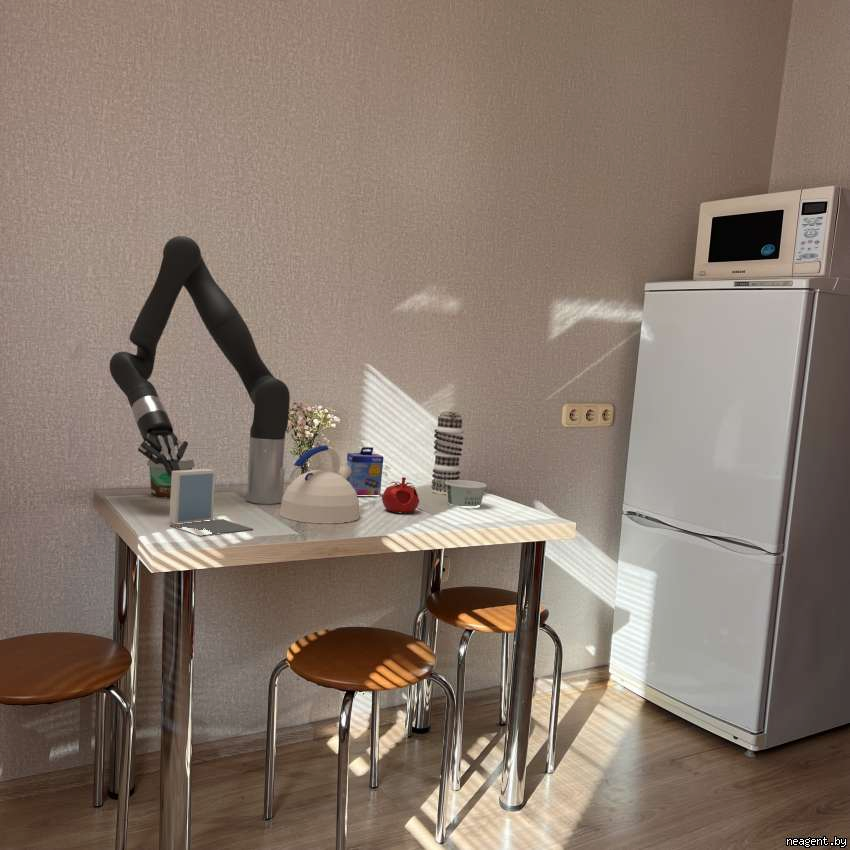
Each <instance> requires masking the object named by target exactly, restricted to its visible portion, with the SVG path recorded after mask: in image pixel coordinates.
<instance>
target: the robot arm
mask: <svg viewBox="0 0 850 850" xmlns="http://www.w3.org/2000/svg"><path fill="white" fill-rule="evenodd" d="M163 247H164V248H163V251H162V260H161V264H160V268H159V271H158V274H157V277H156V280H155V282H154V285H153V287H152V289H151V291H150V293H149V295H148V296H147V298H146V300H145V302H144V304H143V306H142V308H141V310H140V311H139V314H138V316H137V318H136V320H135V323H134V325H133V327H132V329H131V332H130V334H129V341H130V343H132V344H133V345H134V346H136V349H137V350H136V354H134V353H131V352H128V351H118V352H115V353H114V354H113V355H112V357H111V359H110V361H109V365H108V366H109V372H110V375H111V377H112V379H113V381H114V382H115V384H116V385H117V386H118V387H119V389H120V390H121V391H122V393H123V394H124V395H125V396H126V398H127V401H128V403H129V406H130V409H131V411H132V414H133V418H134V421H135V423H136V425H137V428H138V431H139V433H140V436H141V438H142V440H143V441H142V442H141V444H140V445H139V447H138V448H137V451H138V452H139V453H141V454H142V455H144V456H145V457H146V458H147V459H148V460H149V459H150V460H151V461H153V462H154V463H155V464H159V463H160V464H162V465H163V466H164V467H165V469H166V472H167V474H168V475H169V476H170V477H172V471H180V468H179V465H178V463H179V461H182V459H183V457H184V454H185V452H186V450H187V447H188V445H189V442H188V441H187V440H184V441H183V442H182V441H181V440H179V438H178V436H177V435H176V434H175V433H174V427H173V425H172V423H171V420H170V418H169V416H168V414H167V410H166V408H165V406H164V404H163V402H162V401H161V399H160V397H159V395H158V392H157V390H156V387H155V386H154V385H153V383H152V382H151V381H149V379H150V377H151V376H152V374H153V372H154V366H155V360H156V353H157V347H158V344H159V342H160V339H161V337H162V335H163V333H164V330H165V328H166V326H167V324H168V321H169V319H170V316H171V313H172V311H173V309H174V306H175V303H176V301H177V299H178V297H179V295H180V292H181V290H182V288H183V287H184V288H185V290H186V291H187V292H188V294H189V296H190V297H191V299H192V302H193V304H194V307H195V309H196V310H197V313H198V314H199V317H200V319H201V321H202V323H203V325H204V326H205V328H206V330H207V331H208V333H209V334H210V336H211V338H212V340H213V341H214V343H216V345H217V346H218V348H219V349H220V352H222V354H223V355H224V356H225V358H226V360H228V362H229V363H230V364H231V367H232V368H234V370H235V371H236V372H237V374H238V377H239V378H240V379H241V382H242V384H243V386H244V388H245V390H246V392H247V394H248V396H249V398H250V400H251V402H252V404H253V407H254V409H253V410H254V411H253V418H252V424H251V426H250V430H249V431H250V432H249V448H248V464H247V466H248V467H247V481H246V483H247V484H246V501H247V502H249V503H251V504H252V503H253V504H259V505H260V504H263V505H266V504H267V505H273V504H281V503H282V497H283V495H284V483H285V482H284V481H285V467H284V463H285V461H284V458H285V444H286V443H285V441H286V440H285V439H286V433H287V429H288V425H289V412H290V404H291V403H290V402H291V400H290V399H291V395H290V391H289V390H290V389H289V387H288V386H287V384H286V383H285V382H284V381H282V380H281V379H279V378H276V377H275V376H274V375H273V374H272V372H271V371H270V370H269V368H268V367H267V366H266V364H265V362H264V361H263V360H262V358H261V356H260V354H259V352H258V349H257V346H256V344H255V341H254V338H253V336H252V334H251V333H252V332H251V330H250V329H249V327H248V325H247V323H246V322H245V320H244V318H243V317H242V315H241V314H240V312H239V310H238V309H237V308H236V306H235V305H234V303H233V302H232V301H231V299H230V298H229V297H228V295H227V294H226V293H225V292H224V290H222V288H221V287H220V286H219V285H218V284H217V282H216V281H215V280H214V278H213V276H212V275H211V274H212V273H210V271H209V268H208V267H207V264H206V263H205V261H204V258H203V256H202V252H201V248H200V246H199V244H198V243H197V242H196V241H195V240H194V239H192V238H190V237H188V236H186V235H184V236H183V235H178V236H174V237H172V238H170V239H169V240H168V241H167V242H166V243H165V245H164V246H163ZM176 451H177V452H176Z"/></svg>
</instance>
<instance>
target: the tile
mask: <svg viewBox="0 0 850 850" xmlns="http://www.w3.org/2000/svg"><path fill="white" fill-rule="evenodd" d="M215 484H216V470H215V469H212V468H202V469H201V468H199V469H197V468H196V469H192V470H180V471H172V477H171V497H170V498H169V499H170V500H169V501H170V504H169V521H168V522H171V523H170V524H172V523H175V524H177V523H184V522H185V523H186V522H194V521H204V520H214V502H215V501H214V499H215V486H216V485H215Z"/></svg>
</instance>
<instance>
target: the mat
mask: <svg viewBox="0 0 850 850" xmlns="http://www.w3.org/2000/svg"><path fill="white" fill-rule="evenodd" d="M169 526H170V527H171V526H174V527H177V528H182V527H187V528H194V529H195V528H196V529H198V530H203V529H204V528H205V529H206V530H208V531H209V530H210V532H212V534H217V533H226V534H231V533H230V532H234V533H241V532H248V531H249V530H250V531H254V529H253V528H252V527H248V526H246V525H242V524H239V523H235V522H232V521H230V520H226V519H224V518H221V519H220V518H219V519H213V520H210V521H201V522H192V523H183V524H170V525H169ZM174 527H173V528H174ZM177 528H176V529H177ZM205 529H204V530H205Z"/></svg>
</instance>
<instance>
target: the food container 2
mask: <svg viewBox="0 0 850 850" xmlns="http://www.w3.org/2000/svg"><path fill="white" fill-rule="evenodd" d="M445 483H446V484H447V495H446V496H447V504H448V503H450V504H453V505H458V506H477V505H482V502H483V497H484V494H485V490H486V488H487V486H488V485H487V484H486V483H484V482H479V481H474V480H463V479H458V480H449V481H446V482H445Z"/></svg>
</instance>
